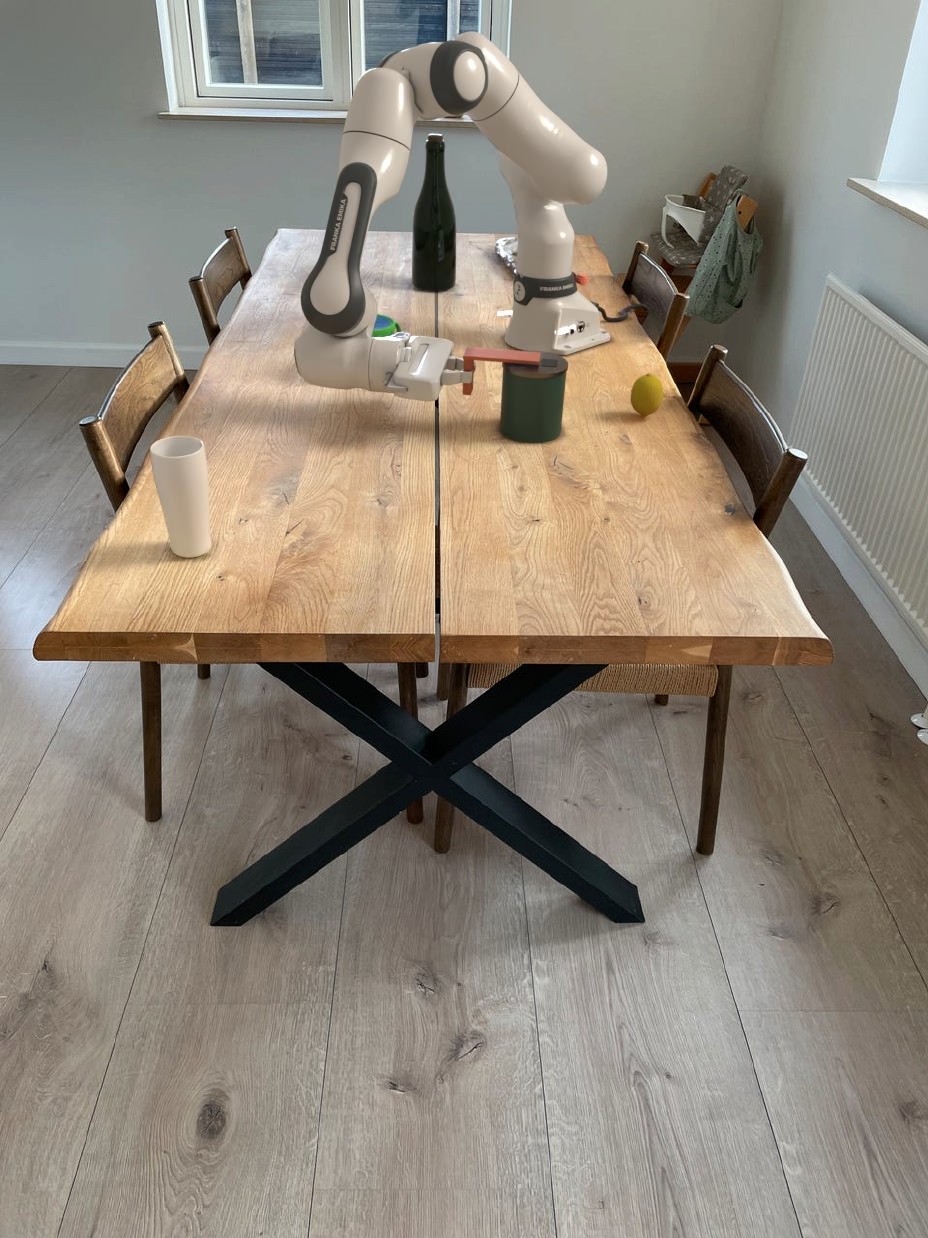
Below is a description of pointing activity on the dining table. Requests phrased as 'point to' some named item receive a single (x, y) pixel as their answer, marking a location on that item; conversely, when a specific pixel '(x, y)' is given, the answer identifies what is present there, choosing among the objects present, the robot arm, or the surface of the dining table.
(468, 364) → the bracket
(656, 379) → the lemon
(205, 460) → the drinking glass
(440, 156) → the dark green wine bottle
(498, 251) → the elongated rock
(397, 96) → the robot arm
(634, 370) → the dining table surface
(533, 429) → the green canister
